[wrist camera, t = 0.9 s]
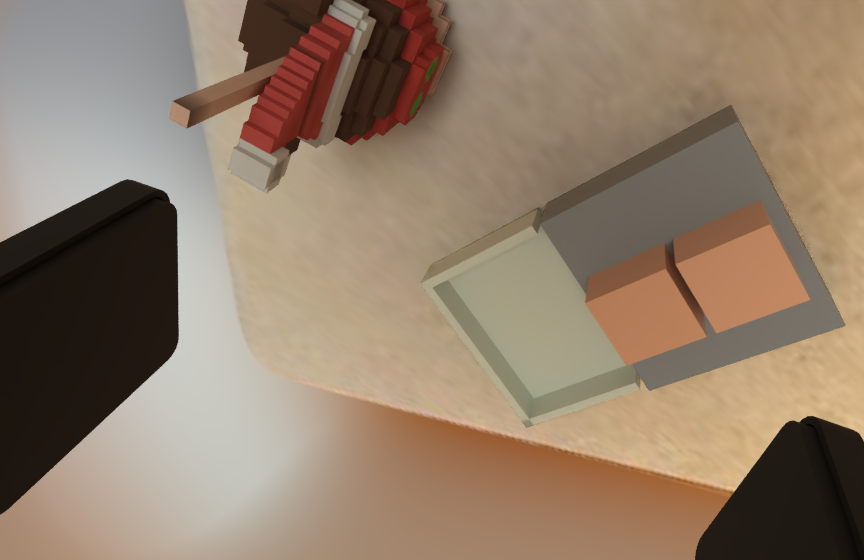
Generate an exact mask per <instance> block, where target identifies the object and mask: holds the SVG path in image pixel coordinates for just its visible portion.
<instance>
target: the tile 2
mask: <svg viewBox="0 0 864 560" xmlns="http://www.w3.org/2000/svg"><path fill="white" fill-rule="evenodd" d="M673 243H674V255H675V265H676V266H677V268H678V270H679V272H680V273H681V275H682V277H683V278H684V280H685V282H686V283H687V285H688V287H689V288H690V290H691V292H692V293H693V295H694V297H695V298H696V300H697V302H698V303H699V305H700V307H701V308H702V310H703V312H704V313H705V315H706V317H707V318H708V320H709V322H710V323H711V325H712V327H713V328H714V330H715V332H716V333H719V332H722V331H725V330H728V329H730V328H733V327H736V326H739V325H742V324H744V323H747V322H750V321H753V320H756V319H758V318H761V317H764V316H767V315H769V314H772V313H775V312H778V311H781V310H783V309H786V308H789V307H792V306H795V305H797V304H800V303H803V302H806V301H809V300H810V297H809V295H808V293H807V290H806V288H805V286H804V283H803V281H802V279H801V276H800V274H799V272H798V270H797V268H796V266H795V264H794V262H793V260H792V258H791V257H790V255H789V253H788V251H787V249H786V247H785V245H784V243H783V242H782V240H781V238H780V236H779V234H778V232H777V230H776V228H775V227H774V225H773V223H772V221H771V219H770V217H769V215H768V213H767V212H766V210H765V208H764V206H763V204H762V202H761V200H758V201H755V202H753V203H751V204H749V205H746V206H744V207H742V208H740V209H738V210H735V211H733V212H731V213H729V214H726V215H724V216H722V217H720V218H718V219H715V220H713V221H711V222H709V223H706V224H704V225H702V226H700V227H698V228H695V229H693V230H691V231H689V232H686V233H684V234H682V235H680V236H677V237H675V238H673Z"/></svg>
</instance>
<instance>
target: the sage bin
mask: <svg viewBox="0 0 864 560" xmlns="http://www.w3.org/2000/svg"><path fill="white" fill-rule="evenodd" d="M542 216H543V215H542V213H541V212H540V210H539V209H538V208H537V209H535V210H533V211H532V212H530V213H528V214H526V215H524V216H522V217H520V218H518V219H517V220H515V221H513V222H511V223H509V224H507V225H505V226H503V227H502V228H500V229H498V230H496V231H494V232H492V233H490V234H488V235H487V236H485V237H483V238H481V239H479V240H477V241H475V242H473V243H472V244H470V245H468V246H466V247H464V248H462V249H460V250H458V251H457V252H455V253H453V254H451V255H449V256H447V257H445V258H443V259H442V260H440V261H438V262H436V263H434V264H432V265H431V266H430V268H429V270H428V271H427V273H426V274H425V276H424V278H423V279H422V281H421V283H420V285H421V286H422V288H423V289H424V290H425V292H426V293H427V294H428V296H429V297H430V298H431V300H432V301H433V303H434V304H435V305H436V307H437V308H438V309H439V311H440V312H441V313H442V315H443V316H444V317H445V319H446V320H447V321H448V323H449V324H450V325H451V327H452V328H453V329H454V331H455V332H456V334H457V335H458V336H459V338H460V339H461V340H462V342H463V343H464V344H465V346H466V347H467V348H468V350H469V351H470V352H471V354H472V355H473V356H474V358H475V359H476V360H477V362H478V363H479V365H480V366H481V367H482V369H483V370H484V371H485V373H486V374H487V375H488V377H489V378H490V379H491V381H492V382H493V383H494V385H495V386H496V387H497V389H498V390H499V391H500V393H501V394H502V396H503V397H504V398H505V400H506V401H507V402H508V404H509V405H510V406H511V408H512V409H513V410H514V412H515V413H516V414H517V416H518V417H519V418H520V420H521V421H522V422H523V424H524V425H525V427H526V428H527V427H530V426H533V425H536V424H539V423H542V422H545V421H548V420H551V419H554V418H557V417H560V416H563V415H566V414H569V413H572V412H575V411H578V410H581V409H584V408H587V407H590V406H593V405H596V404H599V403H602V402H605V401H608V400H611V399H614V398H617V397H620V396H623V395H626V394H629V393H632V392H635V391H638V390H640V376H639V374H638V373H637V371H636V370H635V368H634V367H633V365H632V364H630V365H627V366H626V365H625V363H624V362H623V360H622V359H621V357H620V355H619V354H618V352H617V351H616V349H615V348H614V346H613V345H612V343H611V342H610V340H609V339H608V337H607V336H606V334H605V333H604V331H603V330H602V328H601V327H600V325H599V324H598V322H597V321H596V319H595V318H594V316H593V315H592V313H591V312H590V310H589V308H588V307H587V305H586V304H585V300H586V294H585V292H584V291H583V289H582V288H581V286H580V284H579V283H578V281H577V280H576V278H575V277H574V275H573V274H572V272H571V271H570V269H569V268H568V266H567V265H566V263H565V262H564V260H563V259H562V257H561V256H560V254H559V252H558V251H557V249H556V248H555V246H554V245H553V243H552V242H551V240H550V239H549V237H548V236H547V234H546V233H545V231H544V230H543V228H542V227H541V225H540V222H541V219H542Z"/></svg>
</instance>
